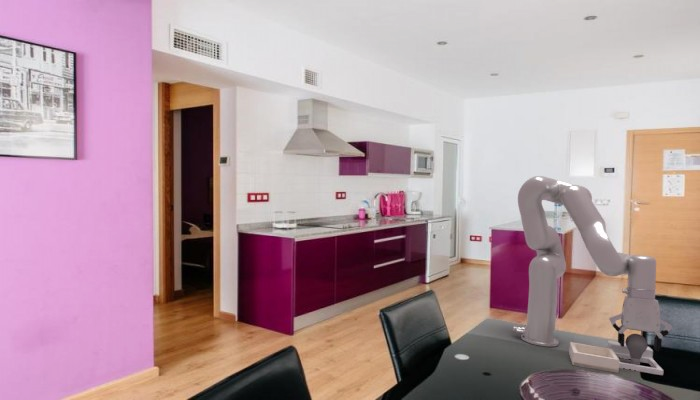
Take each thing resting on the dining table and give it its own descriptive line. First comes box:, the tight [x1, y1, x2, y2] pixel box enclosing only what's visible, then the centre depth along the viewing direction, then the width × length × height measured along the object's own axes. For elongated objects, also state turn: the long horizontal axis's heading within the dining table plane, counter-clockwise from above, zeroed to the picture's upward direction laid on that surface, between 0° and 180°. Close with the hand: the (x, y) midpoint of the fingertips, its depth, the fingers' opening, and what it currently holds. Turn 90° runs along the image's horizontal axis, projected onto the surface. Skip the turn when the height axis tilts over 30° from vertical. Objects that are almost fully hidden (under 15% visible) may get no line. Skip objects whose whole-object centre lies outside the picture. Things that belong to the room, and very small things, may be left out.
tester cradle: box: [606, 340, 664, 376], centre depth 150 cm, size 12×17×5 cm
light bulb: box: [625, 333, 649, 366], centre depth 148 cm, size 6×6×10 cm
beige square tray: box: [568, 341, 620, 374], centre depth 147 cm, size 12×12×4 cm
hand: (639, 347), depth 147 cm, fingers open, 9 cm apart
